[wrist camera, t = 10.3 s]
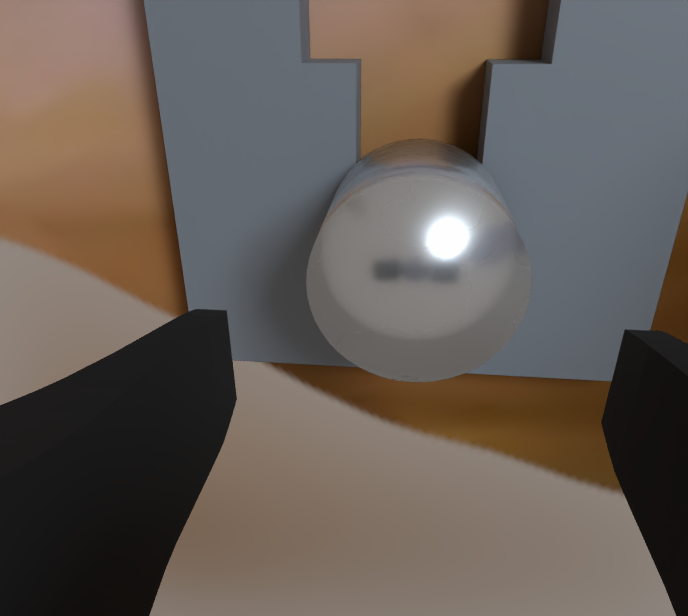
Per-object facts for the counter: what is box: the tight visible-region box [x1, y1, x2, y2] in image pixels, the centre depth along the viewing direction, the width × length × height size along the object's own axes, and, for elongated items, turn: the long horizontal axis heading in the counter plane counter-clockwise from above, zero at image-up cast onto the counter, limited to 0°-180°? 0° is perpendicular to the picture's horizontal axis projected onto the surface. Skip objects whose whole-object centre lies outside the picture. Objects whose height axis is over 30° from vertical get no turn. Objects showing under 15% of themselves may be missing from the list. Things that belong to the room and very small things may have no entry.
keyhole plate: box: [144, 0, 688, 381], centre depth 16 cm, size 15×18×2 cm
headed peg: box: [306, 139, 532, 382], centre depth 16 cm, size 5×5×6 cm
